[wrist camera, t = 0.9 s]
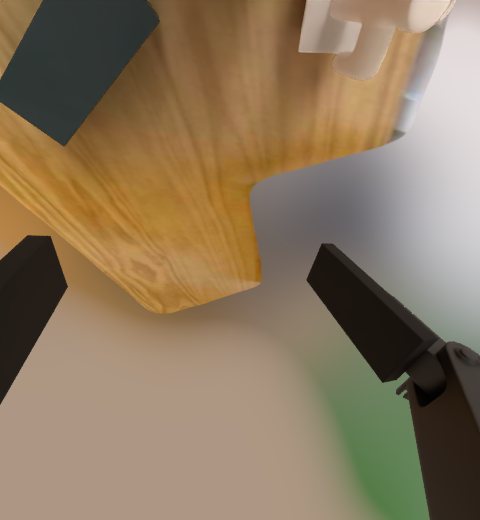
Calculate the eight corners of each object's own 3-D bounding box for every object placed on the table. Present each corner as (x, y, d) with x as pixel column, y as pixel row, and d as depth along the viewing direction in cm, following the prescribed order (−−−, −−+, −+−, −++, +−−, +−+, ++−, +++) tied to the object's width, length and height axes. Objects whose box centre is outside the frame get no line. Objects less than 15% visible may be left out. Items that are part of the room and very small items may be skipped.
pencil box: (101, -68, 18) (87, -84, 14) (160, 18, 22) (160, 21, 18) (16, 82, 23) (-9, 95, 19) (76, 129, 27) (64, 146, 23)
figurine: (283, 60, 26) (352, 94, 16) (305, -88, 19) (447, -177, 9) (339, 62, 27) (431, 95, 18) (379, -76, 20) (569, -144, 11)
